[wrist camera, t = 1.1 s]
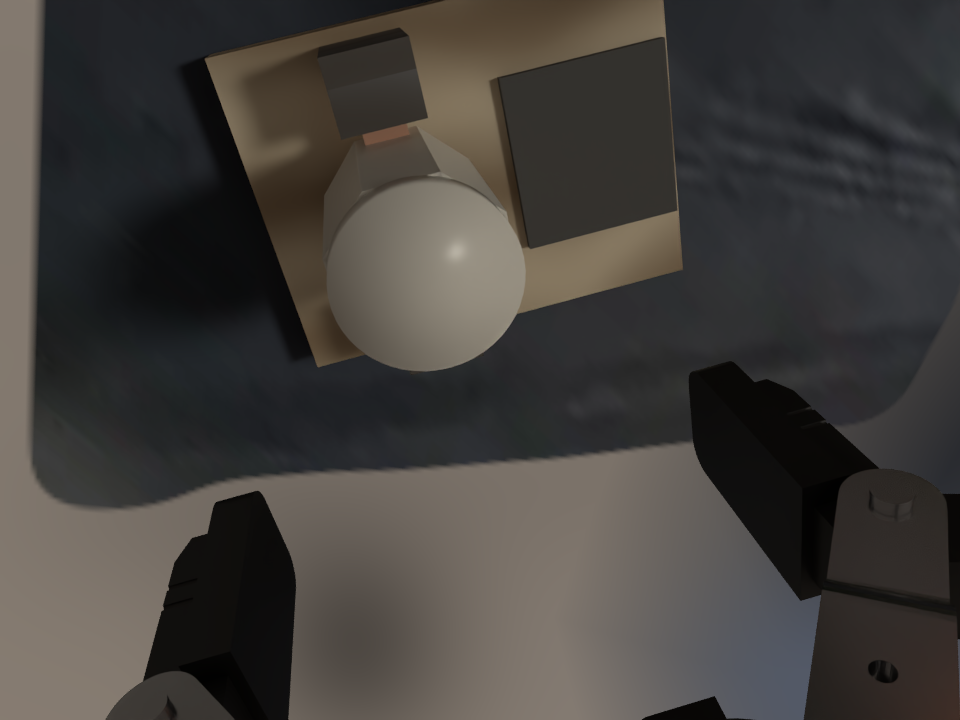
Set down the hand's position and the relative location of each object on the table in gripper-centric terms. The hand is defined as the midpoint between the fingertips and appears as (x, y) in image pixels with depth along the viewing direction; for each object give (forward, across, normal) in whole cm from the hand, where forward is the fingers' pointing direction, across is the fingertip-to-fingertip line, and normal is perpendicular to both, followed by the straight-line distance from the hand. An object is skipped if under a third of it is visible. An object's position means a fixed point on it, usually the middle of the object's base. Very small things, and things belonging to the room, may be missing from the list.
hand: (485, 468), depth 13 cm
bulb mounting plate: (+20, -3, 0) cm, 20 cm away
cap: (+17, 0, 0) cm, 17 cm away
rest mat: (+19, -8, 0) cm, 20 cm away
